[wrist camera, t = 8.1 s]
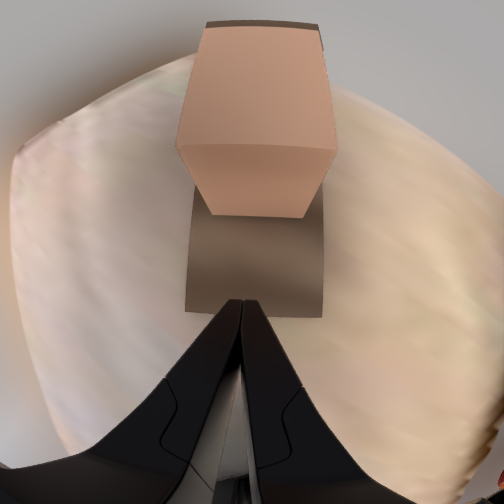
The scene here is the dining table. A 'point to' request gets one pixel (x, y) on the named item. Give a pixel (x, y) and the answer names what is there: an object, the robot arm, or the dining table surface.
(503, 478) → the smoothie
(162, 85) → the dining table surface
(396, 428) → the dining table surface
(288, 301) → the stop block
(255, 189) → the pink box
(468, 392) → the dining table surface
